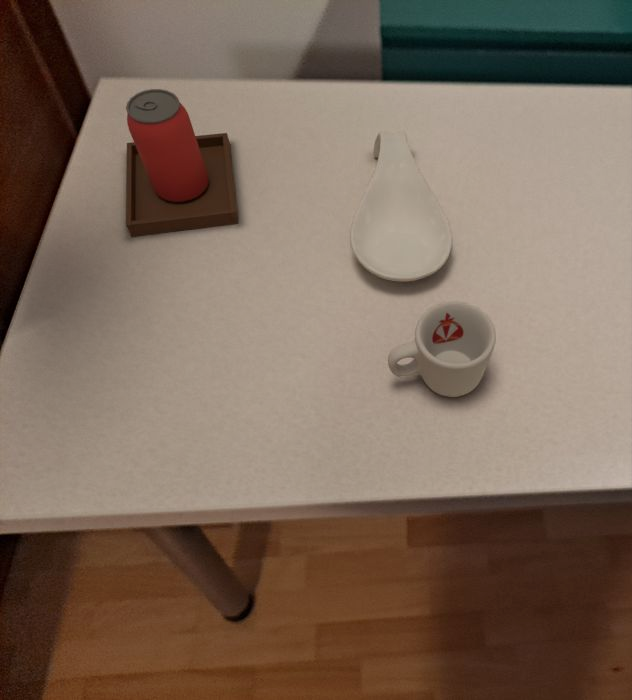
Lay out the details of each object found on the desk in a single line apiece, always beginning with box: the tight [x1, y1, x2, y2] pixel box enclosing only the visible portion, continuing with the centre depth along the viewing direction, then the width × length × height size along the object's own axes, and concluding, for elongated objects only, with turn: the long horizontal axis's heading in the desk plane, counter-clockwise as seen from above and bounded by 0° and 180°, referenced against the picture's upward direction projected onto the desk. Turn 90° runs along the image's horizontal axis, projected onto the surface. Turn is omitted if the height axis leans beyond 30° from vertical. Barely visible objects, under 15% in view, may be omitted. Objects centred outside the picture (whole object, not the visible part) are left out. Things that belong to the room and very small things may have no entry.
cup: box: [387, 300, 497, 398], centre depth 70 cm, size 11×8×8 cm
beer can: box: [125, 88, 209, 202], centre depth 80 cm, size 7×7×12 cm
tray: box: [125, 132, 239, 238], centre depth 85 cm, size 12×14×2 cm
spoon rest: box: [349, 131, 453, 282], centre depth 82 cm, size 24×12×7 cm, turn 8°
